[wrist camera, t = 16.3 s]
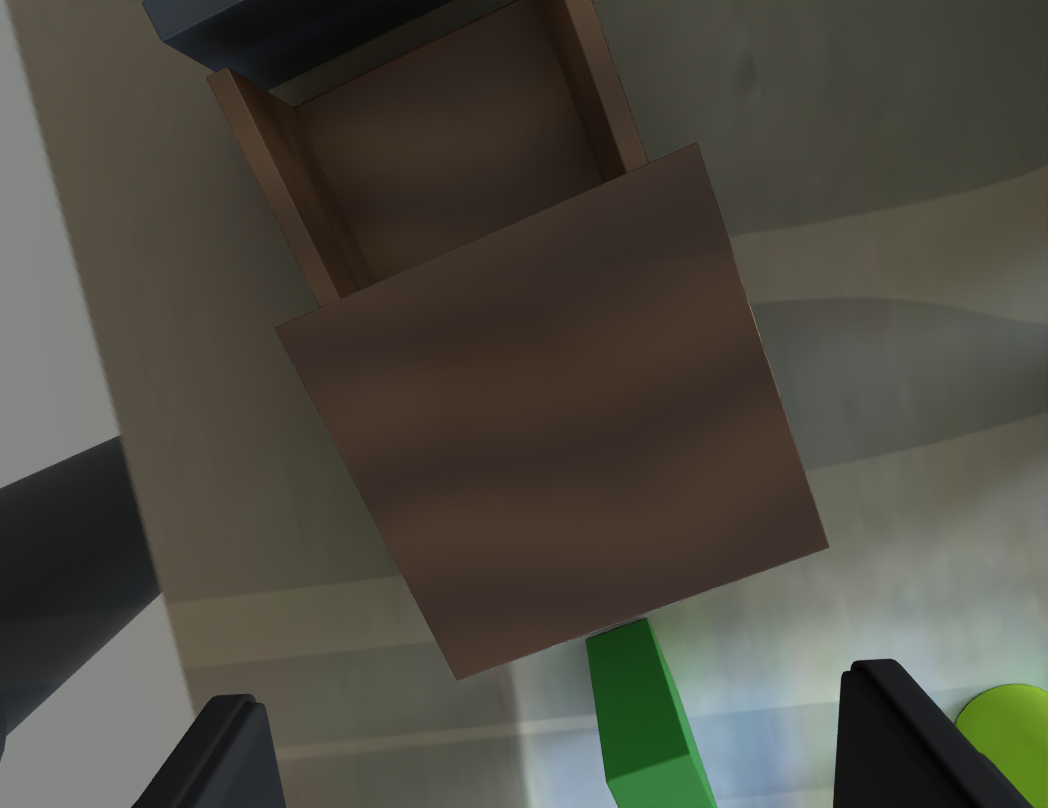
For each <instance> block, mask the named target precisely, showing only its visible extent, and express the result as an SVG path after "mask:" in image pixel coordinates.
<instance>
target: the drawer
mask: <svg viewBox="0 0 1048 808" xmlns="http://www.w3.org/2000/svg"><path fill="white" fill-rule="evenodd" d="M451 1H453V0H144V1H142V4H143V6H144V8H145V10H146V12H147V14H148V16H149V18H150V20H151V22H152V24H153V26H154V28H155V30H156V32H157V34H158V36H159V38H160V40H161V41H162V42H164V43H166V44H167V45H169V46H171V47H173V48H174V49H176V50H178V51H180V52H181V53H183V54H185V55H187V56H188V57H190V58H192V59H194V60H195V61H197V62H199V63H201V64H202V65H204V66H206V67H208V68H209V69H211V70H213V71H215V73H213V74H211V75H209V76H207V77H206V78H207V81H208V83H209V85H210V87H211V89H212V91H213V93H214V95H215V97H216V99H217V101H218V103H219V105H220V107H221V109H222V111H223V113H224V115H225V117H226V119H227V121H228V123H229V125H230V127H231V129H232V131H233V133H234V135H235V137H236V139H237V141H238V143H239V145H240V147H241V149H242V151H243V153H244V155H245V157H246V159H247V161H248V163H249V165H250V167H251V169H252V171H253V173H254V175H255V177H256V179H257V181H258V183H259V185H260V188H261V190H262V192H263V194H264V196H265V198H266V200H267V202H268V204H269V206H270V208H271V210H272V212H273V214H274V216H275V218H276V220H277V222H278V224H279V226H280V228H281V230H282V232H283V234H284V236H285V238H286V240H287V242H288V244H289V246H290V248H291V250H292V252H293V254H294V256H295V258H296V260H297V262H298V264H299V266H300V268H301V270H302V272H303V274H304V276H305V278H306V280H307V282H308V284H309V286H310V288H311V290H312V292H313V294H314V296H315V298H316V301H317V303H318V305H319V307H323V306H325V305H327V304H329V303H332V302H334V301H336V300H339V299H341V298H343V297H345V296H348V295H350V294H352V293H355V292H357V291H359V290H361V289H364V288H366V287H368V286H370V285H373V284H375V283H377V282H380V281H382V280H384V279H386V278H389V277H391V276H393V275H396V274H398V273H400V272H402V271H405V270H407V269H409V268H411V267H414V266H416V265H418V264H421V263H423V262H425V261H427V260H430V259H432V258H434V257H436V256H439V255H441V254H443V253H446V252H448V251H450V250H452V249H455V248H457V247H459V246H462V245H464V244H466V243H468V242H471V241H473V240H475V239H477V238H480V237H482V236H484V235H487V234H489V233H491V232H493V231H496V230H498V229H500V228H503V227H505V226H507V225H509V224H512V223H514V222H516V221H518V220H521V219H523V218H525V217H528V216H530V215H532V214H534V213H537V212H539V211H541V210H543V209H546V208H548V207H550V206H553V205H555V204H557V203H559V202H562V201H564V200H566V199H569V198H571V197H573V196H575V195H578V194H580V193H582V192H584V191H587V190H589V189H591V188H594V187H596V186H598V185H600V184H603V183H605V182H607V181H609V180H612V179H614V178H616V177H619V176H621V175H623V174H625V173H628V172H630V171H632V170H635V169H637V168H639V167H641V166H644V165H646V164H648V163H649V162H648V160H647V157H646V154H645V151H644V148H643V145H642V142H641V139H640V137H639V134H638V131H637V128H636V125H635V122H634V119H633V117H632V114H631V111H630V108H629V105H628V102H627V99H626V96H625V94H624V91H623V88H622V85H621V82H620V79H619V76H618V73H617V71H616V68H615V65H614V62H613V59H612V56H611V53H610V50H609V48H608V45H607V42H606V39H605V36H604V33H603V30H602V28H601V25H600V22H599V19H598V16H597V13H596V10H595V7H594V5H593V2H592V0H516V1H514V2H512V3H510V4H508V5H506V6H504V7H501V8H499V9H497V10H495V11H493V12H491V13H489V14H487V15H485V16H483V17H481V18H479V19H476V20H474V21H472V22H470V23H468V24H466V25H464V26H462V27H460V28H458V29H456V30H454V31H451V32H449V33H447V34H445V35H443V36H441V37H439V38H437V39H435V40H433V41H431V42H429V43H426V44H424V45H422V46H420V47H418V48H416V49H414V50H412V51H410V52H408V53H406V54H404V55H401V56H399V57H397V58H395V59H393V60H391V61H389V62H387V63H385V64H383V65H381V66H379V67H376V68H374V69H372V70H370V71H368V72H366V73H364V74H362V75H360V76H358V77H356V78H354V79H351V80H349V81H347V82H345V83H343V84H341V85H339V86H337V87H335V88H333V89H331V90H329V91H326V92H324V93H322V94H320V95H318V96H316V97H314V98H312V99H310V100H308V101H306V102H304V103H301V104H299V105H297V106H295V107H292V106H290V105H289V104H287V103H286V102H284V101H282V100H281V99H279V98H277V97H276V96H274V95H272V94H271V93H269V92H268V91H267V90H270V89H272V88H274V87H276V86H278V85H280V84H282V83H284V82H286V81H288V80H290V79H292V78H294V77H296V76H298V75H300V74H302V73H305V72H307V71H309V70H311V69H313V68H315V67H317V66H319V65H321V64H323V63H325V62H327V61H329V60H331V59H333V58H335V57H337V56H340V55H342V54H344V53H346V52H348V51H350V50H352V49H354V48H356V47H358V46H360V45H362V44H364V43H366V42H368V41H370V40H372V39H375V38H377V37H379V36H381V35H383V34H385V33H387V32H389V31H391V30H393V29H395V28H397V27H399V26H401V25H403V24H405V23H407V22H410V21H412V20H414V19H416V18H418V17H420V16H422V15H424V14H426V13H428V12H430V11H432V10H434V9H436V8H438V7H440V6H442V5H445V4H447V3H449V2H451Z"/></svg>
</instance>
